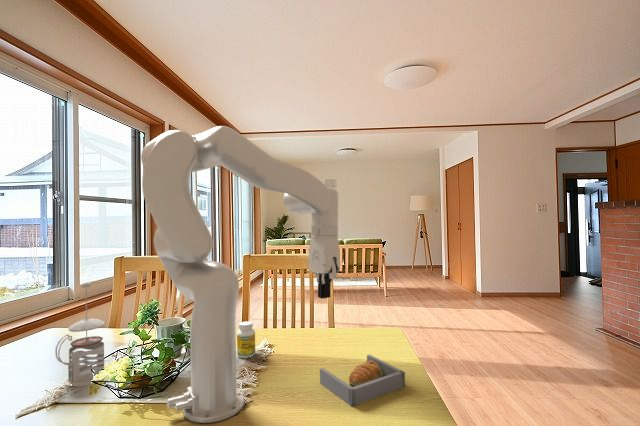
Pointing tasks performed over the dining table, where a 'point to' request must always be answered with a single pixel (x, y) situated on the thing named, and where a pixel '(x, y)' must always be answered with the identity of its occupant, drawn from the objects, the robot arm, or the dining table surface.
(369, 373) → the pastry
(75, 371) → the french press
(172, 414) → the dining table surface
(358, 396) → the gray u-shaped fence
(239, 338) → the supplement bottle
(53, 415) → the dining table surface
